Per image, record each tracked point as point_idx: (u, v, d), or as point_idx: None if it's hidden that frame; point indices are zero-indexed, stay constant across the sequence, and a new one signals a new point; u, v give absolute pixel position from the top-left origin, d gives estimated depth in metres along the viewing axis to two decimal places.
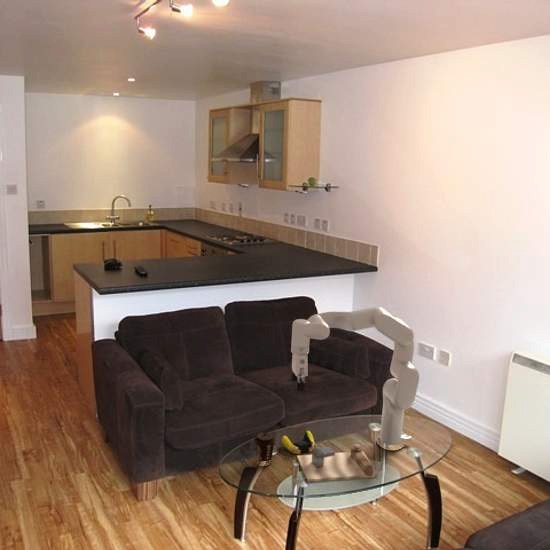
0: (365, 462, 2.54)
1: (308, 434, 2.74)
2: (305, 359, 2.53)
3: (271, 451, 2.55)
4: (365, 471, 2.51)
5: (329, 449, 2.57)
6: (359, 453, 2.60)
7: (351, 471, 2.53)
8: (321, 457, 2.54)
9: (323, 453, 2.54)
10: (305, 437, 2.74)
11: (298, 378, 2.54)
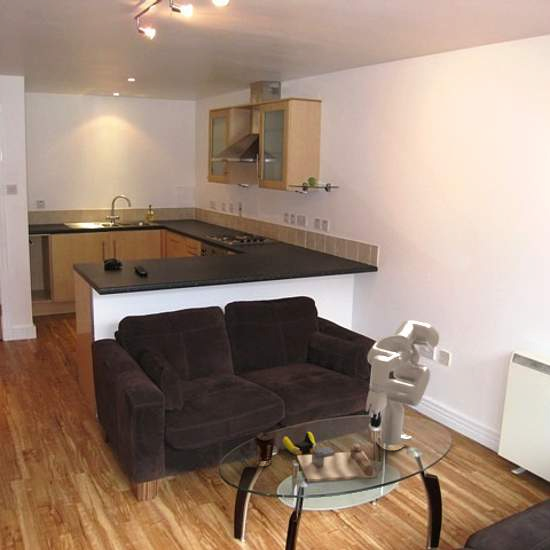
0: (365, 462, 2.54)
1: (309, 435, 2.73)
2: None
3: (271, 451, 2.55)
4: (365, 471, 2.51)
5: (329, 449, 2.57)
6: (359, 453, 2.60)
7: (351, 471, 2.53)
8: (321, 457, 2.54)
9: (323, 453, 2.54)
10: (306, 438, 2.73)
11: (381, 412, 2.54)
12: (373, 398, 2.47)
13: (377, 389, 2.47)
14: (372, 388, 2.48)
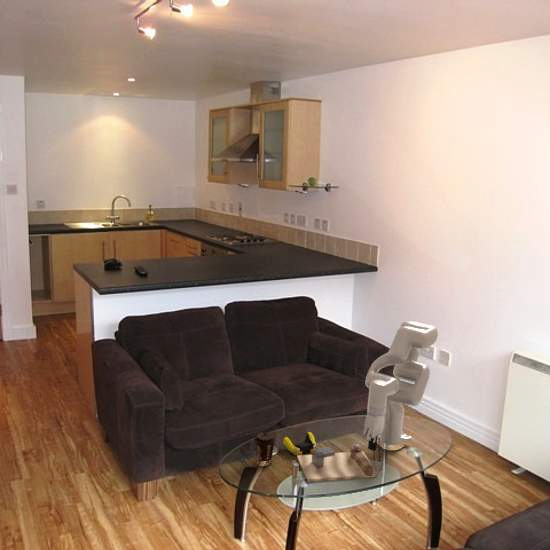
0: (365, 462, 2.54)
1: (309, 435, 2.73)
2: None
3: (271, 451, 2.55)
4: (365, 471, 2.51)
5: (329, 449, 2.57)
6: (359, 453, 2.60)
7: (351, 471, 2.53)
8: (321, 457, 2.54)
9: (323, 453, 2.54)
10: (306, 438, 2.73)
11: (378, 436, 2.56)
12: (370, 422, 2.50)
13: (375, 413, 2.49)
14: (370, 412, 2.51)
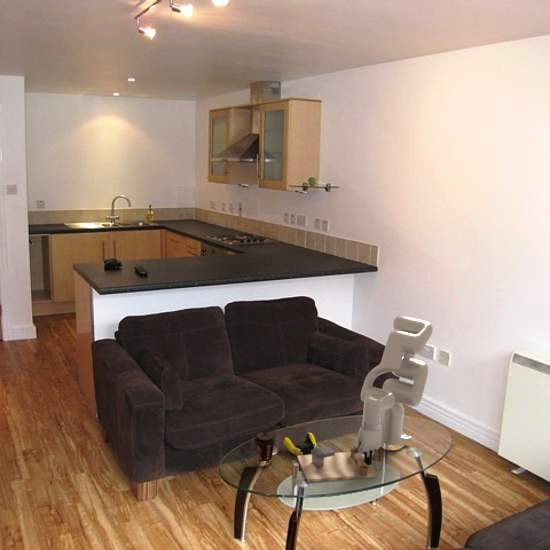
0: (361, 462, 2.53)
1: (310, 436, 2.72)
2: None
3: (271, 451, 2.55)
4: (360, 471, 2.50)
5: (329, 449, 2.57)
6: (358, 453, 2.60)
7: (351, 471, 2.53)
8: (321, 457, 2.54)
9: (323, 453, 2.54)
10: (307, 439, 2.73)
11: None
12: (362, 435, 2.51)
13: (366, 427, 2.50)
14: (362, 425, 2.52)
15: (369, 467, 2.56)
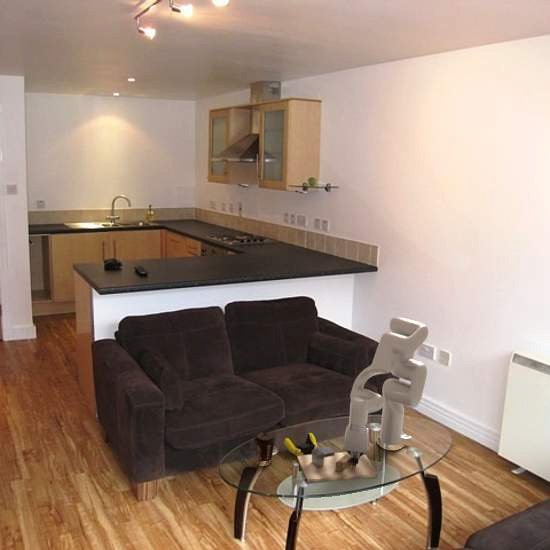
0: (343, 459, 2.55)
1: (310, 436, 2.72)
2: (368, 432, 2.53)
3: (271, 451, 2.55)
4: None
5: (329, 449, 2.57)
6: None
7: (351, 471, 2.53)
8: (321, 457, 2.54)
9: (323, 453, 2.54)
10: (307, 439, 2.72)
11: (359, 455, 2.53)
12: (345, 432, 2.53)
13: (349, 425, 2.51)
14: None
15: (369, 467, 2.56)
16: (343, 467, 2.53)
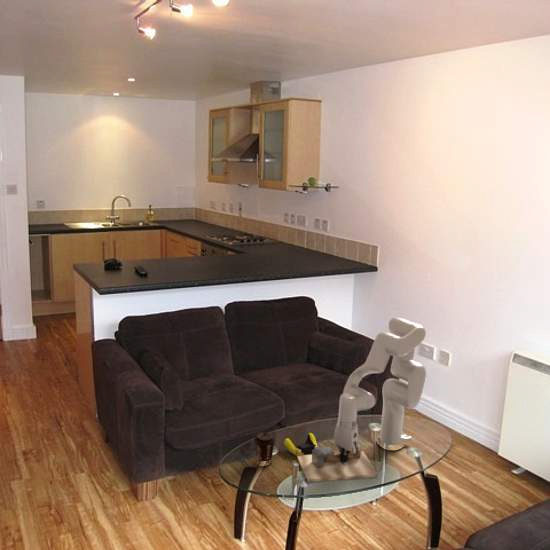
0: None
1: (311, 436, 2.72)
2: (357, 432, 2.52)
3: (271, 451, 2.55)
4: None
5: (329, 449, 2.57)
6: None
7: (351, 471, 2.53)
8: (321, 457, 2.54)
9: (323, 453, 2.54)
10: (308, 439, 2.72)
11: (346, 452, 2.55)
12: None
13: None
14: None
15: (369, 467, 2.56)
16: (329, 459, 2.58)
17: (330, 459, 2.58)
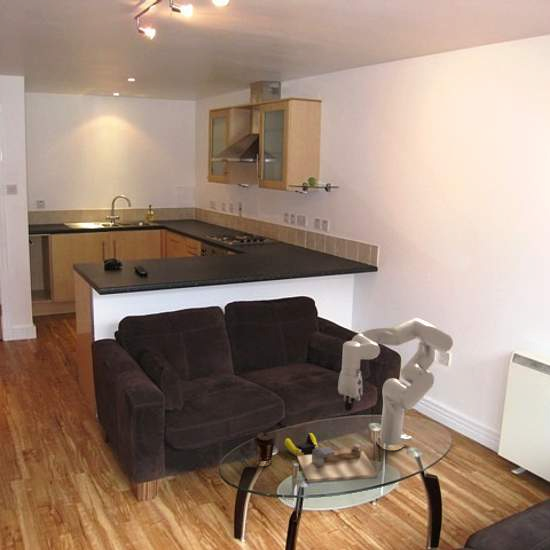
0: None
1: (311, 436, 2.72)
2: (361, 379, 2.55)
3: (271, 451, 2.55)
4: None
5: (329, 449, 2.57)
6: (349, 451, 2.62)
7: (351, 471, 2.53)
8: (321, 457, 2.54)
9: (323, 453, 2.54)
10: (308, 439, 2.72)
11: (351, 400, 2.58)
12: None
13: None
14: None
15: (369, 467, 2.56)
16: (329, 459, 2.58)
17: (330, 459, 2.58)
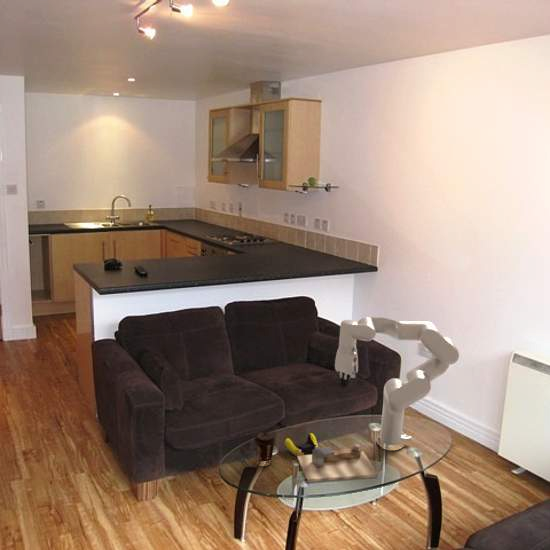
0: None
1: (311, 437, 2.72)
2: (356, 357, 2.66)
3: (271, 451, 2.55)
4: None
5: (329, 449, 2.57)
6: (349, 451, 2.62)
7: (351, 471, 2.53)
8: (321, 457, 2.54)
9: (323, 453, 2.54)
10: (308, 440, 2.72)
11: (346, 376, 2.69)
12: None
13: None
14: None
15: (369, 467, 2.56)
16: (329, 459, 2.58)
17: (330, 459, 2.58)
